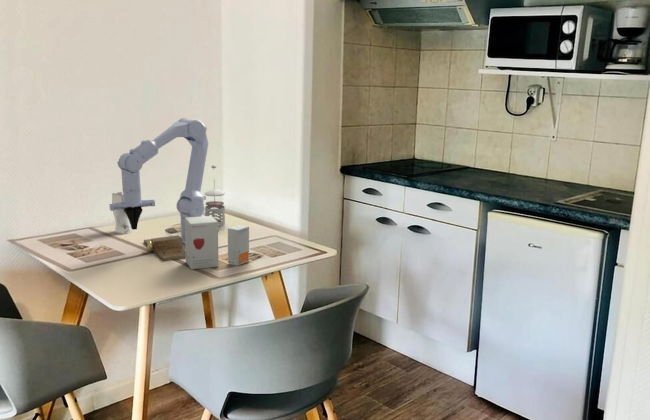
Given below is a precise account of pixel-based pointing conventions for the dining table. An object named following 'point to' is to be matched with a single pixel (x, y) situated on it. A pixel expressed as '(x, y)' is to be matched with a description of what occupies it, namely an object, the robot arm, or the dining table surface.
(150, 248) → the pin
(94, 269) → the dining table surface
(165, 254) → the hinge
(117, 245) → the dining table surface
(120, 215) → the beer glass
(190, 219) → the supplement box
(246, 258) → the skincare box
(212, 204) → the french press
